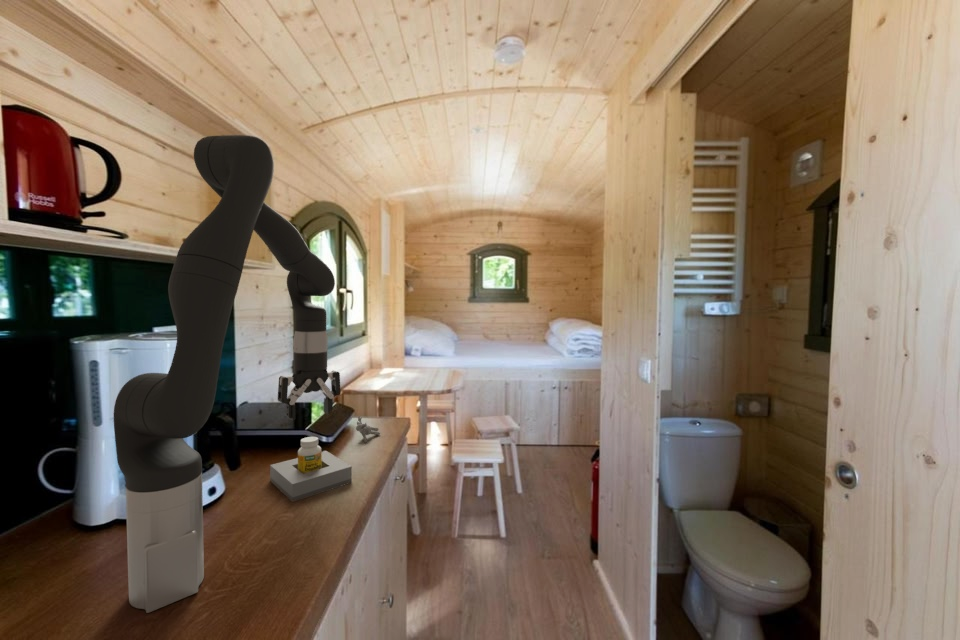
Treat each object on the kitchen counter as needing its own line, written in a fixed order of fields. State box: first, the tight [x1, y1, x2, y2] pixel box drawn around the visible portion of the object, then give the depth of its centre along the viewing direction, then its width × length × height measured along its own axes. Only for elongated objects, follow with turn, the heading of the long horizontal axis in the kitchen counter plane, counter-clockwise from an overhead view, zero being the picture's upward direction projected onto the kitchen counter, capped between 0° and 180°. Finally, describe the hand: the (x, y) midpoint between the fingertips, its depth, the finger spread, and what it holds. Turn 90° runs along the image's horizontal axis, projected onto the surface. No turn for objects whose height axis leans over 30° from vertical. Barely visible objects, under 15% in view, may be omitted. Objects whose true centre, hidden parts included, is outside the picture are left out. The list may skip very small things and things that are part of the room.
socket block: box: [269, 450, 353, 503], centre depth 100 cm, size 14×14×4 cm
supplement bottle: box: [297, 436, 322, 474], centre depth 100 cm, size 5×5×10 cm
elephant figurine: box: [355, 416, 381, 444], centre depth 132 cm, size 10×6×9 cm
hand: (310, 416), depth 99 cm, fingers open, 8 cm apart
